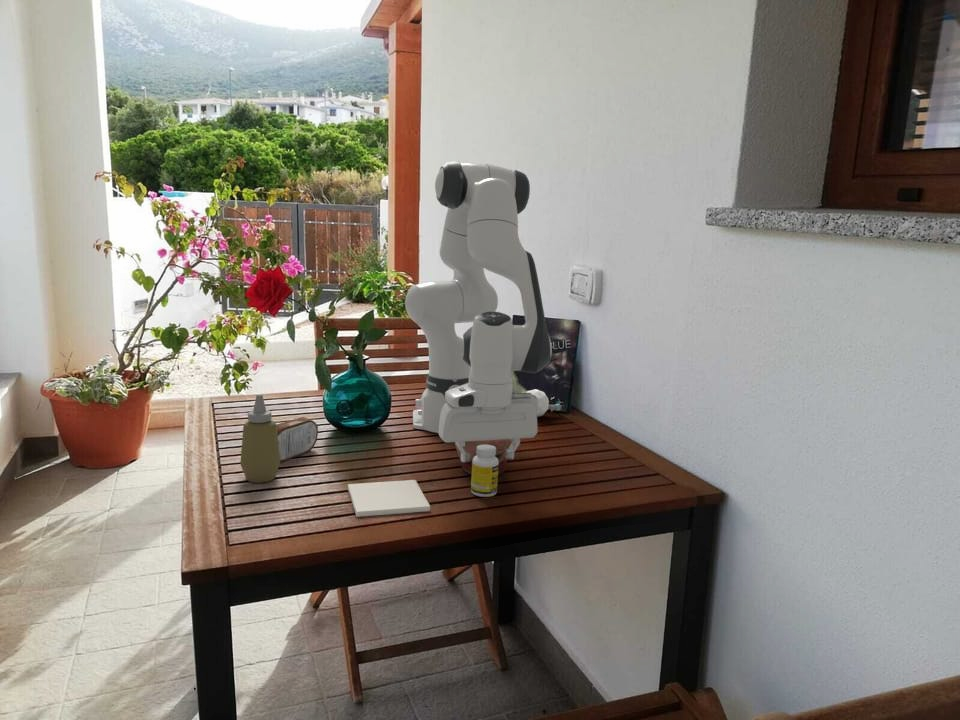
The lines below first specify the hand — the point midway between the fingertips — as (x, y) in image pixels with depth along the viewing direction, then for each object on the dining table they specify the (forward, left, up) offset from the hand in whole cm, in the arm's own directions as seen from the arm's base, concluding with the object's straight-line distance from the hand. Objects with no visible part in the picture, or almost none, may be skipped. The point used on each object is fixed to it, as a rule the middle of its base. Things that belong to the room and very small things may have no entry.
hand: (487, 459), depth 146 cm
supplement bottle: (0, 0, -7) cm, 7 cm away
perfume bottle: (-52, +33, -7) cm, 62 cm away
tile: (0, -20, -7) cm, 22 cm away
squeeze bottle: (-16, -44, -7) cm, 48 cm away
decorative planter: (-14, +3, -7) cm, 16 cm away
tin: (-29, -37, -8) cm, 48 cm away
